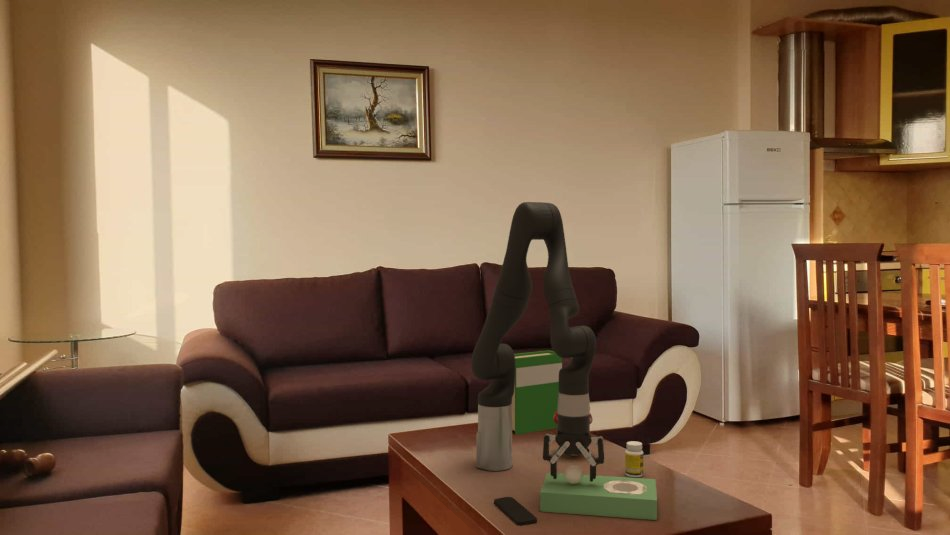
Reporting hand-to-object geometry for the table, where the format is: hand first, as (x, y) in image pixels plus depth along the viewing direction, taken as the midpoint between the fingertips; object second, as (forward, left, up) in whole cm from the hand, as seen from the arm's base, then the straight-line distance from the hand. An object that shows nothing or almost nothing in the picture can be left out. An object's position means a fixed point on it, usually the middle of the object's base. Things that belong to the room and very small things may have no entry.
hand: (573, 479), depth 178 cm
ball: (0, 0, +1) cm, 1 cm away
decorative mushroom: (-3, +36, -6) cm, 37 cm away
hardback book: (-18, +63, -6) cm, 66 cm away
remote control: (-13, -9, -6) cm, 17 cm away
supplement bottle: (+14, +23, -6) cm, 28 cm away
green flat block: (+6, 0, -6) cm, 8 cm away
